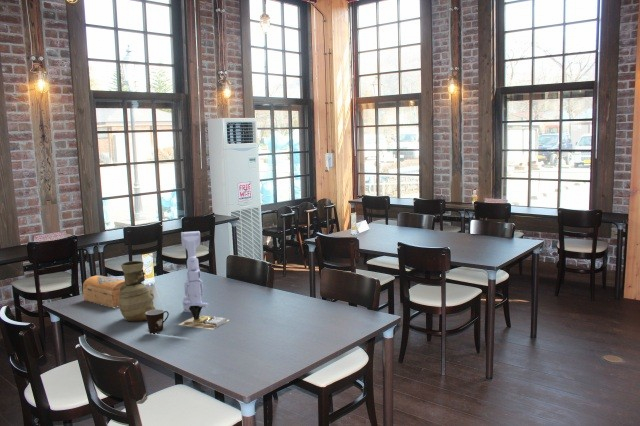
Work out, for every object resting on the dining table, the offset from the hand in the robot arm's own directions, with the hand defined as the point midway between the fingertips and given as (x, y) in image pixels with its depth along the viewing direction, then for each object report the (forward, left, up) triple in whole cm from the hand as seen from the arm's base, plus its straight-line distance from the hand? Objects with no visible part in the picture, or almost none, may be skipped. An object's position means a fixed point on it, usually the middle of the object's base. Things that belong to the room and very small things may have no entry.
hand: (196, 319), depth 292 cm
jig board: (+4, 0, -2) cm, 5 cm away
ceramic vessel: (-35, -3, -2) cm, 35 cm away
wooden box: (-73, +18, -2) cm, 75 cm away
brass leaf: (+5, 0, -1) cm, 5 cm away
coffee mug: (-11, -16, -2) cm, 19 cm away
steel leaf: (+11, 0, -1) cm, 11 cm away
